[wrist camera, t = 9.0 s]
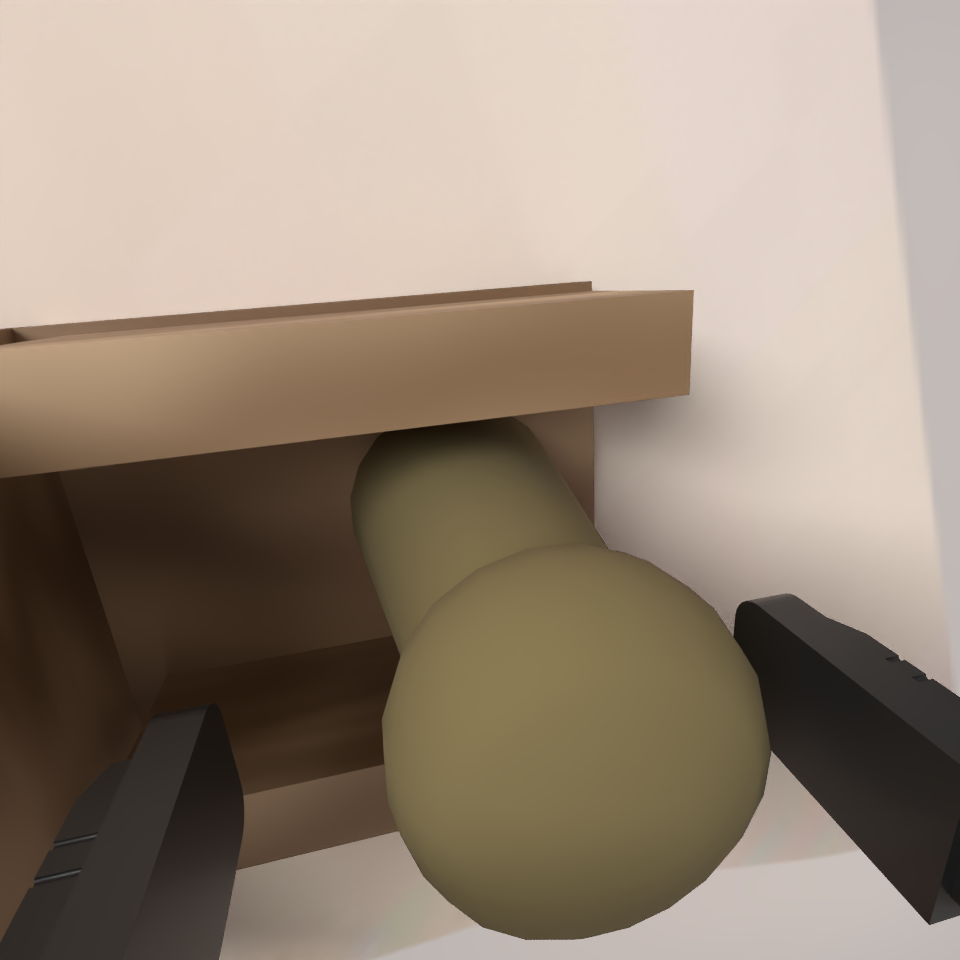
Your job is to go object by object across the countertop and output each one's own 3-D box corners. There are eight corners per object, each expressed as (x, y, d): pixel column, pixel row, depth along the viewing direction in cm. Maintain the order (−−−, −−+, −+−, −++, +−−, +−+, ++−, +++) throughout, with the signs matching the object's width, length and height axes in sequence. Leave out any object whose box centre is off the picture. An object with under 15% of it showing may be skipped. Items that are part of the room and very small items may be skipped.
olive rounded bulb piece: (342, 595, 17) (328, 1067, 7) (359, 388, 15) (376, 590, 5) (537, 600, 18) (776, 992, 8) (573, 412, 17) (932, 606, 6)
